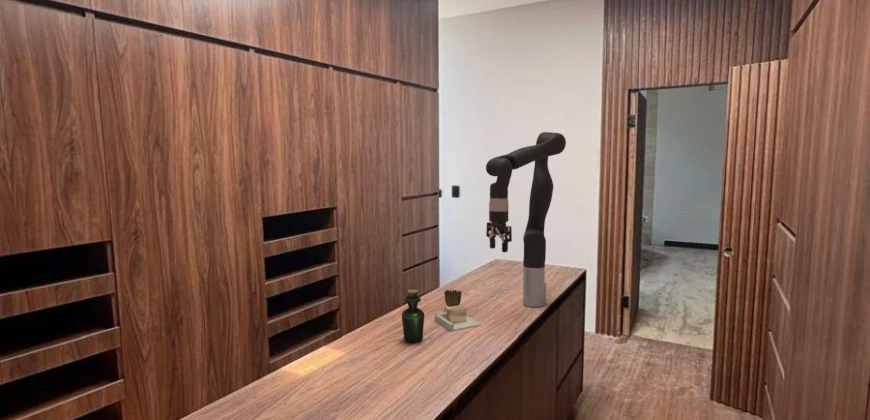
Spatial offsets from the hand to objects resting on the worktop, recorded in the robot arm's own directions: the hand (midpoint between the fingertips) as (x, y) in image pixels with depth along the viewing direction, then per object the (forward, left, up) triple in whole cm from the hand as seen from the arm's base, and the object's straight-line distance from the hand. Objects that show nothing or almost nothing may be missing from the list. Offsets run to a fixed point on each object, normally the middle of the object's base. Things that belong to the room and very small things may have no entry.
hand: (498, 250), depth 181 cm
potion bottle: (+39, +4, -28) cm, 48 cm away
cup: (+11, -18, -28) cm, 35 cm away
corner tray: (+17, -4, -28) cm, 33 cm away
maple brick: (+17, -4, -28) cm, 33 cm away
